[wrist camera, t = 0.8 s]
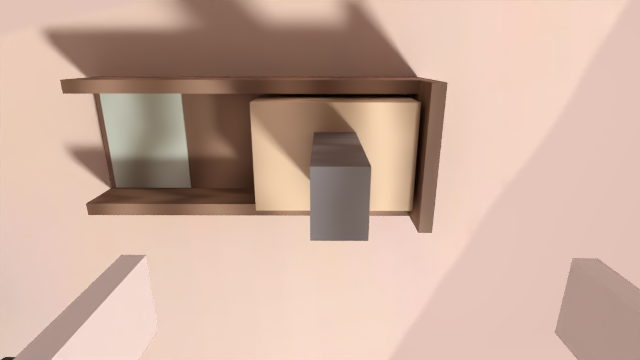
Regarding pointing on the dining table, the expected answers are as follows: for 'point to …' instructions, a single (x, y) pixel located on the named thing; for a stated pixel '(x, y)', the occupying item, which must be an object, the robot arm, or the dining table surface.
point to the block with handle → (335, 158)
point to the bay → (225, 140)
